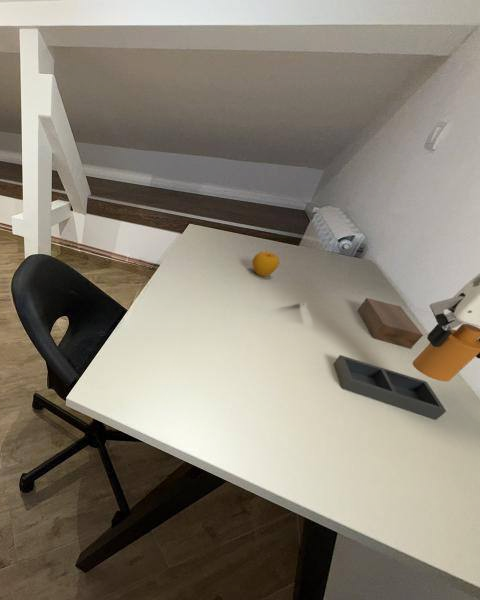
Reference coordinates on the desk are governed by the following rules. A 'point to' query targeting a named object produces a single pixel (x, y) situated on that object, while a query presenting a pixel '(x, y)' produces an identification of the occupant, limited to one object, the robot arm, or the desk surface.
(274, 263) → the apple
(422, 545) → the desk surface
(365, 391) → the grey divided tray
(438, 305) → the robot arm
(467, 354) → the bottle
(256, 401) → the desk surface
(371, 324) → the wooden block
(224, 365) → the desk surface
